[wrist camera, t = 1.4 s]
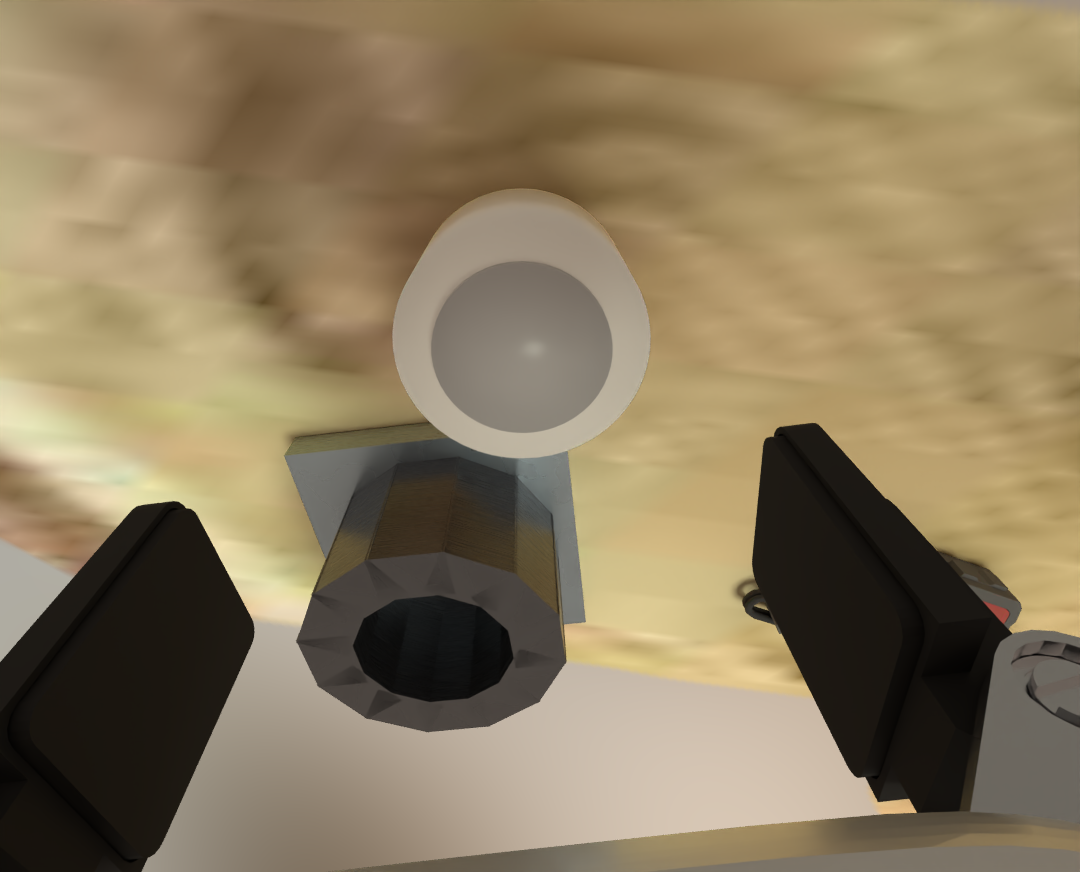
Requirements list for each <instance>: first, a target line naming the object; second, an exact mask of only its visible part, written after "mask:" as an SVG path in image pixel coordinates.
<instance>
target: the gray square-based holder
mask: <svg viewBox="0 0 1080 872" xmlns="http://www.w3.org/2000/svg"><path fill="white" fill-rule="evenodd" d="M284 457H285V459H286V462H287V464H288V467H289V469H290V472H291V474H292V477H293V479H294V482H295V484H296V487H297V489H298V492H299V494H300V497H301V499H302V502H303V504H304V506H305V509H306V511H307V514H308V516H309V519H310V521H311V524H312V526H313V529H314V531H315V534H316V536H317V539H318V541H319V544H320V546H321V549H322V551H323V554H324V556H325V559H326V560H325V563H324V565H323V568H322V570H321V573H320V575H319V577H318V580H317V582H316V585H315V587H314V590H313V592H312V597H311V600H310V603H309V606H308V609H307V612H306V615H305V618H304V621H303V624H302V627H301V630H300V633H299V635H298V638H297V640H296V641H297V643H298V645H299V647H300V649H301V651H302V653H303V655H304V658H305V660H306V662H307V664H308V666H309V668H310V670H311V672H312V674H313V676H314V678H315V680H316V682H317V685H318V686H319V687H320V688H322V689H323V690H325V691H326V692H328V693H329V694H331V695H332V696H334V697H335V698H337V699H338V700H340V701H341V702H343V703H344V704H346V705H347V706H349V707H350V708H352V709H353V710H355V711H356V712H358V713H359V714H361V715H362V716H364V717H365V718H367V719H372V720H376V721H381V722H385V723H390V724H394V725H399V726H404V727H407V728H412V729H416V730H421V731H425V732H432V731H444V730H454V729H464V728H476V727H486V726H487V727H488V726H490V725H492V724H495V723H497V722H499V721H501V720H503V719H505V718H507V717H509V716H511V715H513V714H515V713H517V712H519V711H521V710H523V709H525V708H527V707H529V706H531V705H533V704H535V703H538V702H540V699H541V698H542V697H543V695H544V694H545V692H546V691H547V689H548V688H549V686H550V685H551V683H552V682H553V680H554V679H555V678H556V676H557V675H558V673H559V672H560V670H561V669H562V667H563V666H564V664H566V649H565V636H564V624H572V623H582V622H586V620H585V610H584V601H583V592H582V582H581V573H580V564H579V554H578V545H577V536H576V526H575V517H574V507H573V498H572V489H571V479H570V470H569V461H568V451H565V452H562V453H558V454H554V455H550V456H544V457H538V458H506V457H500V456H495V455H490V454H486V453H483V452H479V451H476V450H474V449H471V448H469V447H467V446H464V445H462V444H460V443H458V442H457V441H455V440H453V439H451V438H450V437H448V436H447V435H445V434H444V433H443V432H441V431H440V430H438V429H437V428H436V427H435V426H434V425H433V424H432V423H422V424H413V425H404V426H395V427H386V428H377V429H368V430H359V431H350V432H342V433H333V434H324V435H315V436H306V437H297V438H295V440H294V441H293V443H292V444H291V446H290V447H289V449H288V451H287V452H286V454H285V455H284Z"/></svg>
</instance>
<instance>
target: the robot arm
mask: <svg viewBox="0 0 1080 872" xmlns="http://www.w3.org/2000/svg"><path fill="white" fill-rule="evenodd" d="M752 567H753V573H754V577H755V580H756V583H757V585H758V587H759V589H760V591H761V593H762V595H763V597H764V599H765V601H766V603H767V605H768V607H769V609H770V611H771V613H772V615H773V617H774V619H775V621H776V623H777V625H778V627H779V629H780V631H781V633H782V635H783V637H784V639H785V641H786V643H787V645H788V647H789V649H790V651H791V653H792V655H793V657H794V659H795V661H796V663H797V665H798V667H799V669H800V671H801V673H802V675H803V677H804V680H805V682H806V684H807V686H808V688H809V690H810V692H811V694H812V696H813V698H814V700H815V702H816V704H817V706H818V708H819V710H820V712H821V714H822V716H823V718H824V720H825V722H826V724H827V726H828V728H829V730H830V732H831V734H832V736H833V738H834V740H835V742H836V744H837V746H838V748H839V750H840V752H841V754H842V756H843V758H844V760H845V762H846V764H847V766H848V768H849V769H850V771H851V772H852V773H853V774H854V776H856V777H857V778H860V777H866V779H867V781H868V783H869V785H870V787H871V789H872V791H873V793H874V795H875V797H876V799H877V801H878V802H883V801H892V800H901V799H910V801H911V803H912V804H913V806H914V808H915V810H916V812H917V813H904V814H882V815H871V816H860V817H848V818H838V819H825V820H814V821H803V822H792V823H780V824H768V825H757V826H745V827H736V828H727V829H719V830H718V829H717V830H709V831H698V832H689V833H679V834H670V835H661V836H651V837H642V838H632V839H623V840H613V841H604V842H594V843H585V844H575V845H567V846H556V847H548V848H538V849H529V850H520V851H511V852H501V853H493V854H484V855H475V856H466V857H456V858H447V859H438V860H429V861H420V862H411V863H403V864H393V865H384V866H376V867H367V868H357V869H348V870H340V871H331V872H1080V638H1079V637H1075V636H1071V635H1067V634H1063V633H1059V632H1055V631H1041V630H1029V631H1024V632H1018V633H1013V634H1012V633H1011V632H1010V631H1009V630H1008V628H1007V627H1006V626H1005V625H1004V624H1003V623H1002V622H1001V621H1000V620H999V619H998V617H997V616H996V615H995V614H994V613H993V612H992V611H991V610H990V609H989V608H988V606H987V605H986V604H985V603H984V602H983V601H982V600H981V599H980V598H979V597H978V595H977V594H976V593H975V592H974V591H973V590H972V589H971V588H970V587H969V586H968V585H967V583H966V582H965V581H964V580H963V579H962V578H961V577H960V576H959V575H958V574H957V572H956V571H955V570H954V569H953V568H952V567H951V566H950V565H949V564H948V563H947V561H946V560H945V559H944V558H943V557H942V556H941V555H940V554H939V553H938V552H937V551H936V549H935V548H934V547H933V546H932V545H931V544H930V543H929V542H928V541H927V540H926V538H925V537H924V536H923V535H922V534H921V533H920V532H919V531H918V530H917V529H916V527H915V526H914V525H913V524H912V523H911V522H910V521H909V520H908V519H907V518H906V516H905V515H904V514H903V513H902V512H901V511H900V510H899V509H898V508H897V507H896V506H895V505H894V504H893V503H892V502H891V501H889V500H888V499H885V498H884V497H883V495H882V494H881V493H880V492H879V491H878V490H877V489H876V488H875V487H874V485H873V484H872V483H871V482H870V481H869V480H868V479H867V478H866V477H865V475H864V474H863V473H862V472H861V471H860V470H859V469H858V468H857V467H856V466H855V464H854V463H853V462H852V461H851V460H850V459H849V458H848V457H847V456H846V454H845V453H844V452H843V451H842V450H841V449H840V448H839V447H838V446H837V444H836V443H835V442H834V441H833V440H832V439H831V438H830V437H829V436H828V434H827V433H826V432H825V431H824V430H823V429H822V428H821V427H820V426H819V425H818V424H816V423H808V424H800V425H792V426H784V427H779V428H777V429H776V431H775V433H774V437H768V438H766V439H765V441H764V445H763V454H762V465H761V475H760V485H759V496H758V506H757V516H756V527H755V537H754V547H753V557H752ZM253 638H254V623H253V620H252V618H251V616H250V614H249V612H248V611H247V609H246V607H245V605H244V603H243V601H242V599H241V597H240V595H239V594H238V592H237V590H236V588H235V586H234V584H233V582H232V580H231V578H230V577H229V575H228V573H227V571H226V569H225V567H224V565H223V563H222V561H221V560H220V558H219V556H218V554H217V552H216V550H215V548H214V546H213V544H212V543H211V541H210V539H209V537H208V535H207V533H206V531H205V529H204V527H203V525H202V524H201V522H200V520H199V518H198V516H197V515H196V513H195V512H194V511H193V510H191V509H186V508H185V506H184V505H182V504H181V503H180V502H175V501H172V502H163V503H155V504H147V505H141V506H137V507H135V508H134V509H133V510H132V511H131V512H130V513H129V514H128V515H127V516H126V518H125V519H124V520H123V521H122V522H121V523H120V525H119V526H118V527H117V528H116V529H115V530H114V531H113V533H112V534H111V535H110V536H109V537H108V538H107V540H106V541H105V542H104V543H103V544H102V545H101V546H100V548H99V549H98V550H97V551H96V552H95V553H94V555H93V556H92V557H91V558H90V559H89V560H88V561H87V563H86V564H85V565H84V566H83V567H82V568H81V570H80V571H79V572H78V573H77V574H76V575H75V576H74V578H73V579H72V580H71V581H70V582H69V584H68V585H67V586H66V587H65V588H64V589H63V590H62V592H61V593H60V594H59V595H58V596H57V597H56V598H55V600H54V601H53V602H52V603H51V604H50V605H49V607H48V608H47V609H46V610H45V611H44V612H43V614H42V615H41V616H40V617H39V618H38V619H37V620H36V622H35V623H34V624H33V625H32V626H31V627H30V629H29V630H28V631H27V632H26V633H25V634H24V635H23V637H22V638H21V639H20V640H19V641H18V642H17V643H16V645H15V646H14V647H13V648H12V649H11V650H10V652H9V653H8V654H7V655H6V656H5V657H4V659H3V660H2V661H1V662H0V872H141V871H142V869H143V867H144V865H145V863H146V861H147V858H148V857H150V856H152V855H154V854H155V853H156V851H157V850H158V849H159V848H160V846H161V844H162V842H163V840H164V838H165V836H166V834H167V832H168V829H169V827H170V825H171V823H172V820H173V818H174V816H175V814H176V812H177V809H178V807H179V805H180V803H181V800H182V798H183V796H184V794H185V792H186V789H187V787H188V785H189V783H190V780H191V778H192V776H193V774H194V771H195V769H196V766H197V765H198V763H199V760H200V758H201V756H202V754H203V751H204V749H205V747H206V745H207V742H208V740H209V738H210V736H211V734H212V731H213V729H214V727H215V725H216V723H217V720H218V718H219V716H220V713H221V711H222V709H223V707H224V705H225V703H226V700H227V698H228V696H229V694H230V691H231V689H232V687H233V685H234V682H235V680H236V678H237V676H238V674H239V671H240V669H241V667H242V665H243V662H244V660H245V658H246V656H247V654H248V651H249V649H250V647H251V645H252V642H253Z"/></svg>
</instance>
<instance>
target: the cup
mask: <svg viewBox="0 0 1080 872" xmlns="http://www.w3.org/2000/svg"><path fill="white" fill-rule="evenodd" d="M392 337H393V352H394V357H395V363H396V367H397V370H398V373H399V376H400V379H401V381H402V383H403V385H404V388H405V390H406V392H407V394H408V395H409V397H410V398H411V400H412V401H413V403H414V404H415V406H416V407H417V409H418V410H419V411H420V412H421V413H422V414H423V415H424V417H425V418H426V419H427V420H428V421H429V422H430V423H432V424H433V425H434V426H435V427H436V428H437V429H438V430H440V431H441V432H443V433H444V434H445V435H447V436H448V437H450V438H451V439H453V440H455V441H457V442H458V443H460V444H462V445H464V446H467V447H469V448H471V449H474V450H476V451H479V452H483V453H486V454H490V455H495V456H500V457H506V458H538V457H544V456H550V455H554V454H558V453H562V452H565V451H568V450H570V449H573V448H575V447H578V446H580V445H582V444H584V443H586V442H588V441H589V440H591V439H593V438H595V437H596V436H597V435H599V434H600V433H602V432H603V431H604V430H606V429H607V428H608V427H609V426H610V425H611V424H613V423H614V422H615V421H616V420H617V419H618V418H619V417H620V415H621V414H622V413H623V412H624V411H625V410H626V408H627V407H628V406H629V404H630V403H631V401H632V400H633V398H634V397H635V395H636V393H637V391H638V389H639V387H640V385H641V383H642V380H643V377H644V374H645V371H646V368H647V364H648V359H649V354H650V340H651V334H650V323H649V317H648V313H647V308H646V304H645V302H644V299H643V296H642V294H641V291H640V289H639V287H638V285H637V283H636V282H635V280H634V278H633V276H632V274H631V273H630V271H629V269H628V267H627V265H626V264H625V262H624V260H623V258H622V256H621V255H620V253H619V251H618V249H617V247H616V246H615V244H614V242H613V240H612V239H611V237H610V235H609V234H608V233H607V231H606V230H605V229H604V227H603V226H602V225H601V224H600V223H599V222H598V221H597V220H596V219H595V218H594V217H593V216H592V215H591V214H590V213H589V212H588V211H586V210H585V209H584V208H582V207H581V206H580V205H578V204H576V203H574V202H572V201H571V200H569V199H567V198H565V197H562V196H559V195H557V194H554V193H551V192H547V191H542V190H538V189H527V188H516V189H505V190H500V191H495V192H491V193H488V194H486V195H483V196H480V197H478V198H476V199H474V200H472V201H470V202H468V203H466V204H465V205H463V206H462V207H460V208H459V209H458V210H456V211H455V212H454V213H453V214H451V215H450V216H449V217H448V218H447V219H446V220H445V221H444V222H443V223H442V225H441V226H440V227H439V228H438V230H437V231H436V232H435V234H434V235H433V237H432V239H431V240H430V242H429V244H428V246H427V247H426V249H425V251H424V253H423V254H422V256H421V258H420V260H419V261H418V263H417V265H416V267H415V268H414V270H413V272H412V274H411V275H410V277H409V279H408V281H407V282H406V284H405V286H404V288H403V290H402V293H401V295H400V298H399V300H398V303H397V307H396V311H395V316H394V322H393V333H392Z"/></svg>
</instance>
